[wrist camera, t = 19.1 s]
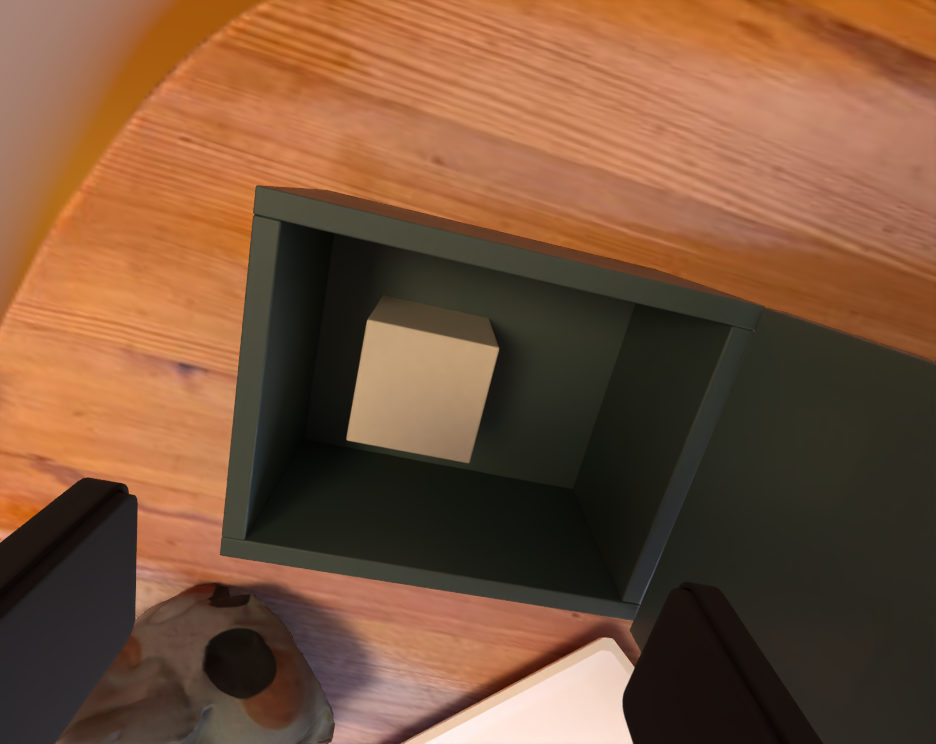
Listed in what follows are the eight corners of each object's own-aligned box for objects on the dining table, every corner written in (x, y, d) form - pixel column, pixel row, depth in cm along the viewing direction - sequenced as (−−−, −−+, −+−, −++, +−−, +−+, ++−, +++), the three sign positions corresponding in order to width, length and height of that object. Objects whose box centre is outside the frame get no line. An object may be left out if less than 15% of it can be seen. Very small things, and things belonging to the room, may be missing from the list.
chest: (290, 442, 26) (219, 556, 18) (325, 189, 23) (255, 185, 14) (578, 496, 28) (634, 621, 20) (656, 269, 24) (766, 306, 16)
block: (382, 294, 23) (367, 319, 19) (489, 318, 24) (500, 347, 19) (364, 394, 25) (345, 441, 20) (465, 414, 25) (469, 464, 21)
